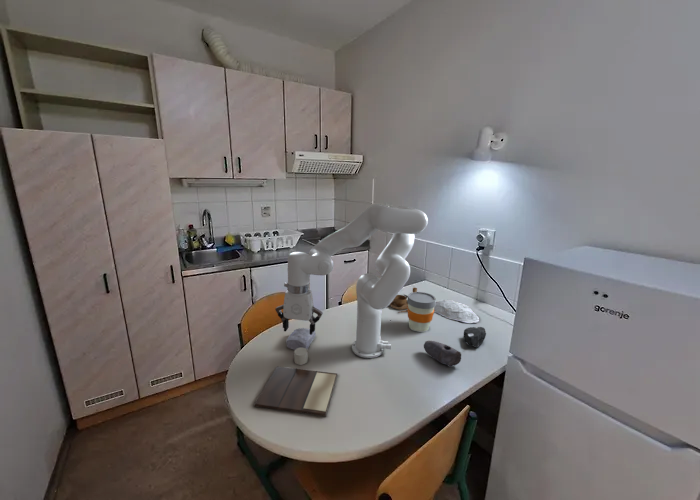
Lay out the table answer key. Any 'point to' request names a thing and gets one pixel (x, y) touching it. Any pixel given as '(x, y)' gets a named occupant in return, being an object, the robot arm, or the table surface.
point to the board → (298, 391)
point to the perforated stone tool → (442, 353)
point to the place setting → (401, 302)
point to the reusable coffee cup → (420, 310)
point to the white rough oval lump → (455, 311)
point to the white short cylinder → (300, 356)
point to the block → (300, 338)
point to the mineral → (474, 336)
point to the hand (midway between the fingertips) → (298, 331)
